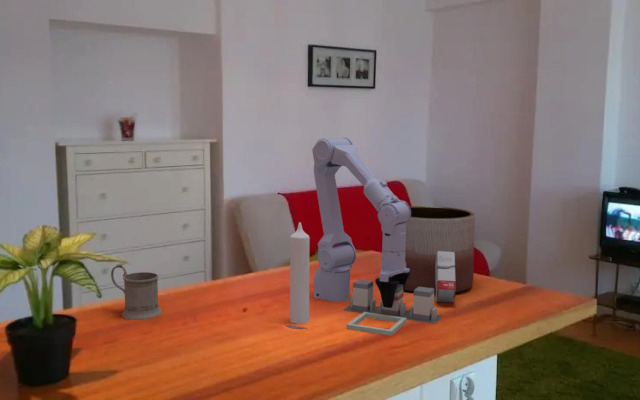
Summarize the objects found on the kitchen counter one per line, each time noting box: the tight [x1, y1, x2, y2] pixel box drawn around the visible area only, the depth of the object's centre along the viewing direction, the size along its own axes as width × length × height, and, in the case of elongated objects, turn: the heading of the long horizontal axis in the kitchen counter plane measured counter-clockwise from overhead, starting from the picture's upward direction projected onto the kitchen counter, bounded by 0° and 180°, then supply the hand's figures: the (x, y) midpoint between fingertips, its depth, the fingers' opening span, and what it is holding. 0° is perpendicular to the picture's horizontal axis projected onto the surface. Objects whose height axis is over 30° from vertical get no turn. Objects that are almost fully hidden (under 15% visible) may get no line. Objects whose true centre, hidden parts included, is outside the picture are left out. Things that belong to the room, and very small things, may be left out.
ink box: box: [435, 251, 456, 303], centre depth 176 cm, size 9×5×12 cm
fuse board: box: [343, 296, 444, 324], centre depth 165 cm, size 24×7×4 cm, turn 65°
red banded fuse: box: [382, 284, 404, 316], centre depth 165 cm, size 4×4×7 cm
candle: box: [284, 221, 310, 330], centre depth 157 cm, size 7×7×25 cm
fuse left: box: [352, 278, 374, 312], centre depth 168 cm, size 4×4×7 cm
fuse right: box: [412, 287, 435, 321], centre depth 162 cm, size 4×4×7 cm
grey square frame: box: [346, 312, 408, 337], centre depth 156 cm, size 11×11×2 cm
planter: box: [404, 205, 476, 296], centre depth 195 cm, size 25×25×22 cm
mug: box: [110, 263, 163, 320], centre depth 167 cm, size 14×10×12 cm
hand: (392, 303), depth 165 cm, fingers open, 7 cm apart
